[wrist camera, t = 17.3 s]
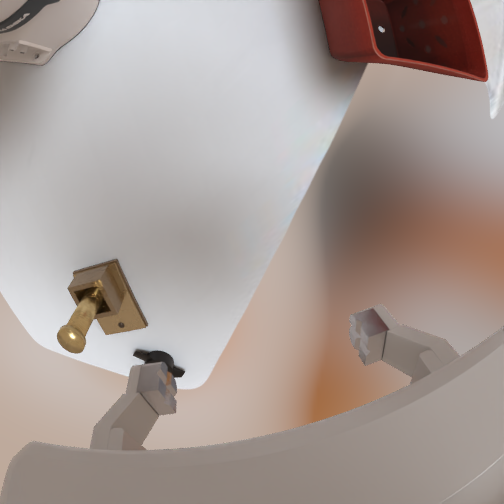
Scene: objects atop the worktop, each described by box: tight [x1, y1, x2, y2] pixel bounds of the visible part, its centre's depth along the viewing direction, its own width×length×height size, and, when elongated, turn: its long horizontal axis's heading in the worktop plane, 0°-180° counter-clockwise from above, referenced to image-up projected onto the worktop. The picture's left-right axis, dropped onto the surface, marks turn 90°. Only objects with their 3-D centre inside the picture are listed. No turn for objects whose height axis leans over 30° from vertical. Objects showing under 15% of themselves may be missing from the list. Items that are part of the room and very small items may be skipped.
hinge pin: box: [57, 285, 104, 353], centre depth 35 cm, size 4×4×14 cm
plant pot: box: [319, 0, 488, 82], centre depth 23 cm, size 19×19×17 cm
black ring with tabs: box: [133, 351, 185, 378], centre depth 51 cm, size 8×10×3 cm
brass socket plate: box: [68, 259, 148, 335], centre depth 42 cm, size 9×14×6 cm, turn 11°
